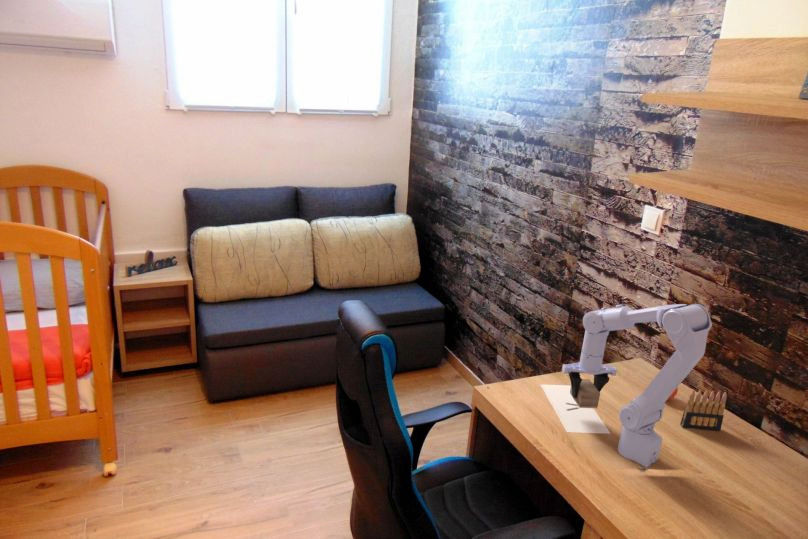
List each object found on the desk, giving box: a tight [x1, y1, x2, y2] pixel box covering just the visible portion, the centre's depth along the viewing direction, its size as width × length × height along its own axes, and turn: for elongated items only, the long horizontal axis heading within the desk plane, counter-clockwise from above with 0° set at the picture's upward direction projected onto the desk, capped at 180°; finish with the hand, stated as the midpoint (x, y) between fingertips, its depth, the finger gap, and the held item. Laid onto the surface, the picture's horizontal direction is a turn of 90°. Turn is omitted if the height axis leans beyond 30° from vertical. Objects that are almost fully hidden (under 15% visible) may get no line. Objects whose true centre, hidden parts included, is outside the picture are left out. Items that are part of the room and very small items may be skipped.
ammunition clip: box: [679, 388, 728, 432], centre depth 170 cm, size 11×2×12 cm, turn 88°
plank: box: [539, 384, 611, 435], centre depth 175 cm, size 26×12×1 cm, turn 4°
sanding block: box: [570, 378, 601, 409], centre depth 167 cm, size 8×5×5 cm, turn 4°
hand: (584, 396), depth 167 cm, fingers closed on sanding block, 5 cm apart
